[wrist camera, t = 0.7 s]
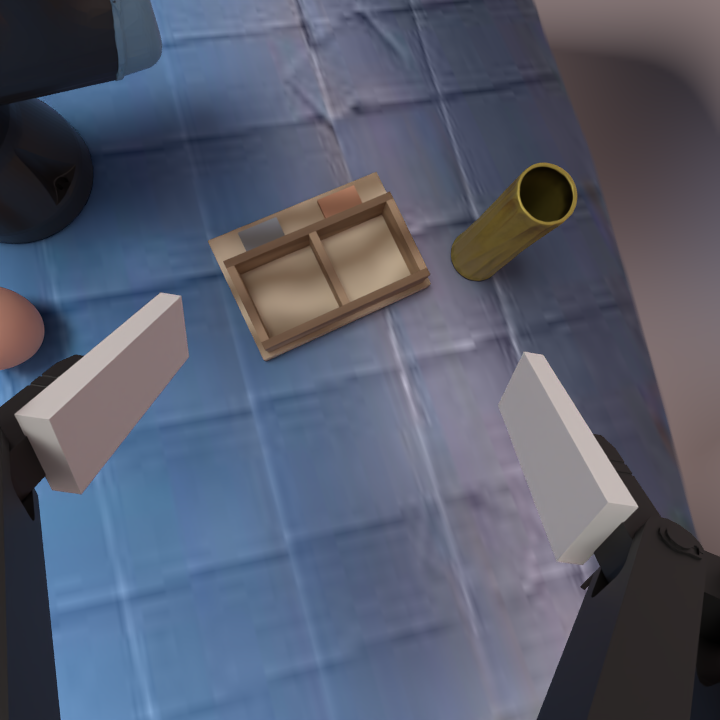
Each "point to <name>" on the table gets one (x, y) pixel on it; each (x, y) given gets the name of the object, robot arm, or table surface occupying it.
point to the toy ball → (18, 329)
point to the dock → (320, 265)
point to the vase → (515, 221)
